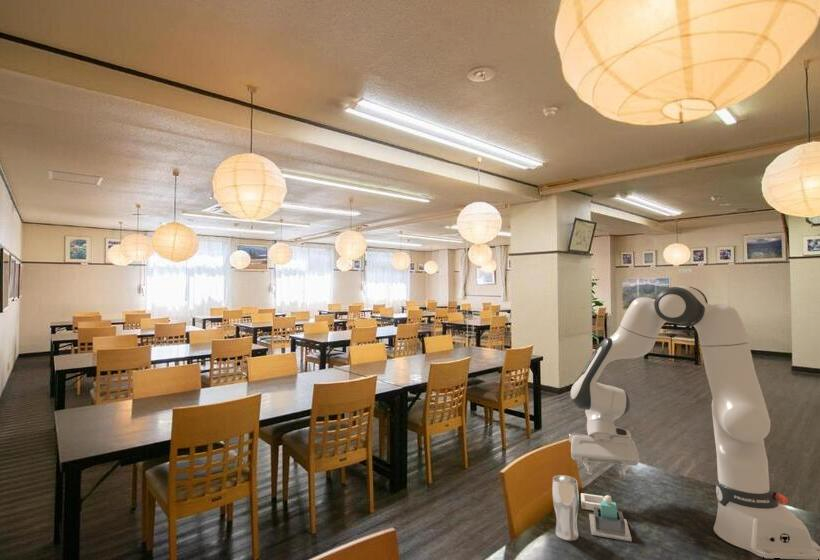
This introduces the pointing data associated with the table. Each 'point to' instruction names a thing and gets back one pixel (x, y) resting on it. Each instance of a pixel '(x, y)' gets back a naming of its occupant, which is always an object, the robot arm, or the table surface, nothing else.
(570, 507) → the beer glass
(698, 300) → the robot arm
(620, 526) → the port
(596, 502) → the white shallow rectangular tray
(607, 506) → the teal bottle
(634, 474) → the table surface
